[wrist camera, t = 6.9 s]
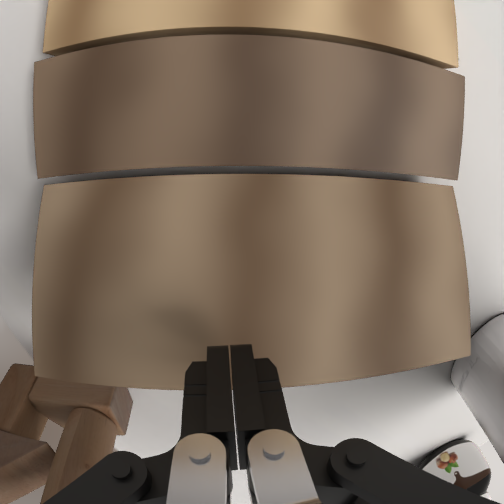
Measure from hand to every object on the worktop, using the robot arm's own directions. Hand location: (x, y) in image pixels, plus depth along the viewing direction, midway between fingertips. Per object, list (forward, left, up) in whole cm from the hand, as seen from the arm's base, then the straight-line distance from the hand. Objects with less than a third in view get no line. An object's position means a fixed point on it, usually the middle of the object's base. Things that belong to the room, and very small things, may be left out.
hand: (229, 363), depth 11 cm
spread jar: (-29, +33, -8) cm, 45 cm away
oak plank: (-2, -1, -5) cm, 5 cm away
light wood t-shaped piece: (+13, +10, -8) cm, 19 cm away
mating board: (-2, -9, -8) cm, 12 cm away
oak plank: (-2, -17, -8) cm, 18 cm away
